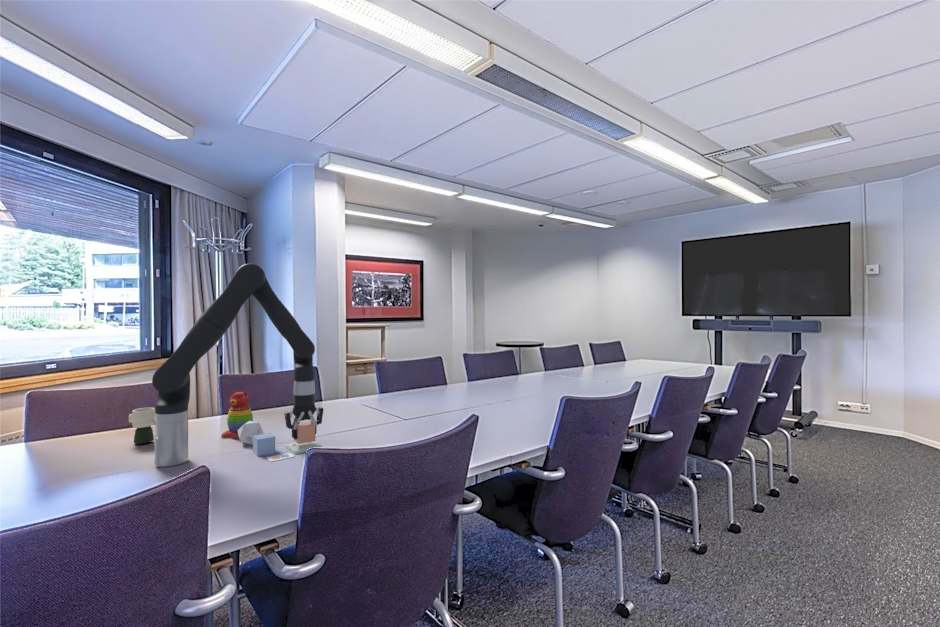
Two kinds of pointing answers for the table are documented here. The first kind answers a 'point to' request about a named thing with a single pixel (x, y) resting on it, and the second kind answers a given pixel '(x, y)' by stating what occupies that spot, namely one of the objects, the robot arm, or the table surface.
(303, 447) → the baseplate
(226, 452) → the table surface
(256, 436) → the brick blue
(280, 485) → the table surface
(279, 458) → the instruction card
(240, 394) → the stacking bear
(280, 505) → the table surface
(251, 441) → the die
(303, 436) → the brick terracotta
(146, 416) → the character mug
